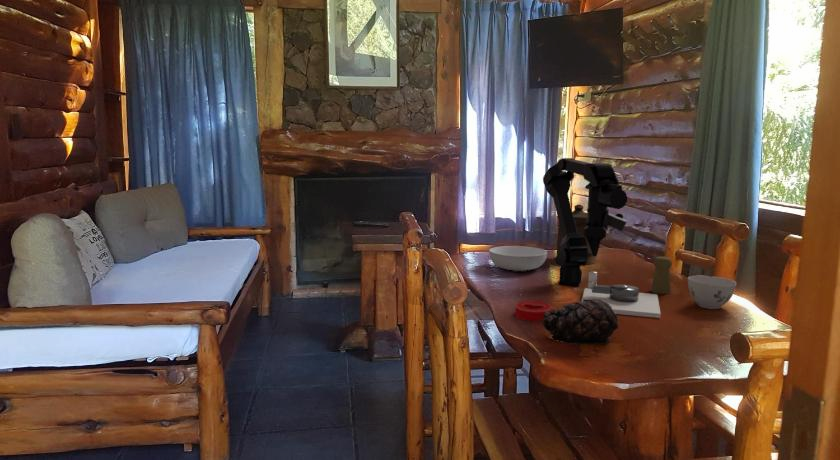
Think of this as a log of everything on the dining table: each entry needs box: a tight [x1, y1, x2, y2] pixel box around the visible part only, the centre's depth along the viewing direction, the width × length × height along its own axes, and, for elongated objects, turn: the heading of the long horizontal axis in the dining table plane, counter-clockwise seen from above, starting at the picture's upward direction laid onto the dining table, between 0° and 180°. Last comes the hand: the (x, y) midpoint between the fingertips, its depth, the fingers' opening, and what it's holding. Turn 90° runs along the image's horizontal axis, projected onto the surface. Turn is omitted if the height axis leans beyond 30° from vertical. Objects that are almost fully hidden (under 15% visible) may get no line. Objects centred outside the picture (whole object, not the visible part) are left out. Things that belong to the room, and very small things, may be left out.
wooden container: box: [556, 203, 597, 266], centre depth 233 cm, size 15×15×22 cm
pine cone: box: [541, 299, 619, 345], centre depth 144 cm, size 10×18×10 cm, turn 92°
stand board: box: [581, 287, 661, 319], centre depth 175 cm, size 21×21×2 cm
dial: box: [587, 270, 640, 302], centre depth 177 cm, size 14×8×7 cm, turn 71°
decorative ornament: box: [514, 300, 553, 322], centre depth 163 cm, size 10×10×3 cm
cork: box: [650, 256, 673, 295], centre depth 189 cm, size 6×6×11 cm
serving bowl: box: [488, 245, 548, 272], centre depth 220 cm, size 21×21×7 cm
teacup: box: [687, 274, 737, 310], centre depth 174 cm, size 15×12×8 cm
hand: (594, 255), depth 184 cm, fingers closed
